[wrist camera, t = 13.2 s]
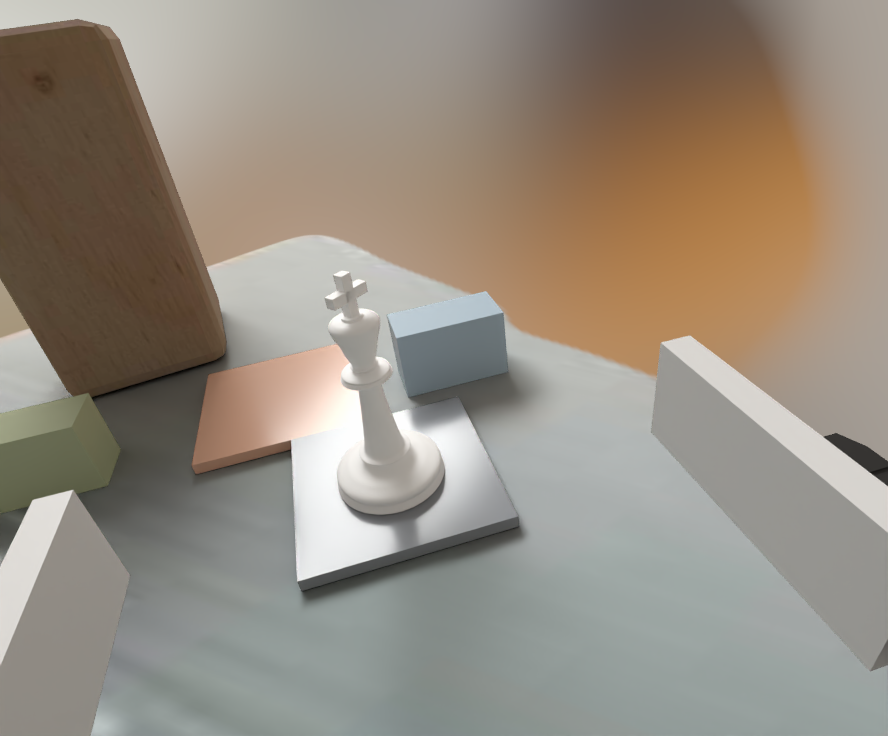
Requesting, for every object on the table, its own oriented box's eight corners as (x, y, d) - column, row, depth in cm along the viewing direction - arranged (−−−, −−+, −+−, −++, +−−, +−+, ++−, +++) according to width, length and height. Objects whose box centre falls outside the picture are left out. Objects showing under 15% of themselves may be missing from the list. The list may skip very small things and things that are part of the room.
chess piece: (466, 461, 26) (435, 257, 21) (394, 532, 23) (336, 316, 18) (389, 427, 29) (344, 241, 24) (316, 487, 26) (246, 289, 21)
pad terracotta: (195, 474, 29) (191, 465, 29) (211, 382, 36) (208, 374, 36) (369, 428, 30) (367, 420, 30) (350, 349, 38) (348, 341, 37)
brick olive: (-18, 520, 28) (-67, 460, 26) (5, 480, 31) (-38, 422, 29) (108, 487, 29) (71, 427, 27) (121, 451, 32) (88, 392, 29)
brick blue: (408, 399, 32) (396, 338, 30) (398, 372, 35) (386, 314, 33) (508, 373, 33) (503, 312, 31) (491, 349, 36) (486, 291, 33)
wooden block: (232, 360, 38) (97, 15, 28) (71, 409, 36) (-147, 49, 25) (221, 305, 46) (113, 21, 36) (89, 342, 44) (-70, 46, 33)
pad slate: (301, 591, 22) (297, 581, 22) (294, 448, 30) (291, 439, 29) (519, 526, 23) (518, 516, 23) (459, 405, 31) (458, 396, 31)
